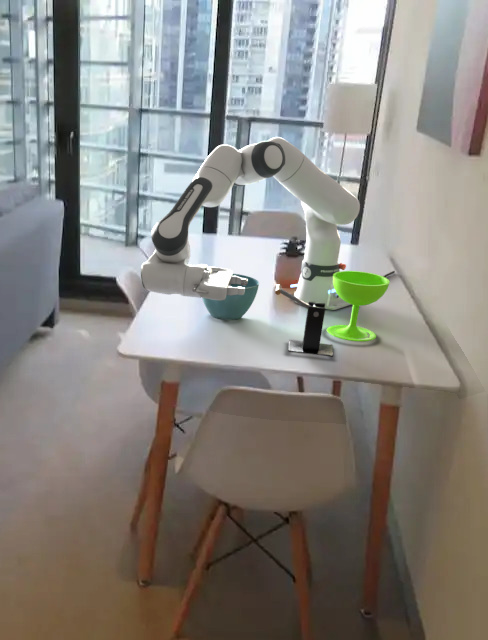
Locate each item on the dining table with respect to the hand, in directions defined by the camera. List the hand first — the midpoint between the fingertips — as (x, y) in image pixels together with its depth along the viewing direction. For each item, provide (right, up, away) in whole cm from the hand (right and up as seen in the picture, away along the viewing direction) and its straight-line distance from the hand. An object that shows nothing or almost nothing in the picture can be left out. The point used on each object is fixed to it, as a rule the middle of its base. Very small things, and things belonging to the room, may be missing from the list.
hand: (246, 286), depth 199 cm
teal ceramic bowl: (-2, -7, +28) cm, 28 cm away
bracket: (+18, -18, +3) cm, 26 cm away
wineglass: (+34, -13, +16) cm, 40 cm away
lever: (+13, -5, -1) cm, 15 cm away
